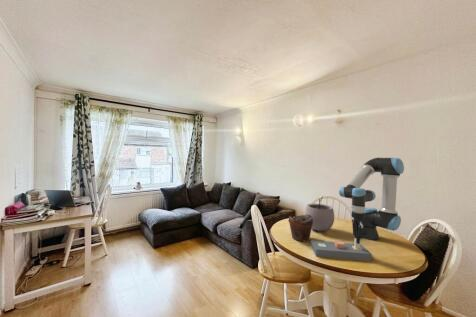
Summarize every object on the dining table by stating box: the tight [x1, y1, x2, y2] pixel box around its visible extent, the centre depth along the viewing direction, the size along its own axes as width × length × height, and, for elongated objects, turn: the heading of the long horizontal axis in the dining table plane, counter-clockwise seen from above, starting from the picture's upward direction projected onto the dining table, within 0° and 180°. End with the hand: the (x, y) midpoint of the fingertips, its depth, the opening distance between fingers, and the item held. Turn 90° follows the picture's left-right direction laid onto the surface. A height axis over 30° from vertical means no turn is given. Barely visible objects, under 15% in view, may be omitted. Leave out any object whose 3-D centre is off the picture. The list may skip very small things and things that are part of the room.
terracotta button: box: [333, 240, 345, 249], centre depth 134 cm, size 5×5×4 cm
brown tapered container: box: [287, 214, 313, 242], centre depth 158 cm, size 18×20×18 cm
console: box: [310, 240, 373, 262], centre depth 134 cm, size 33×14×4 cm, turn 82°
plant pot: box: [304, 196, 335, 232], centre depth 178 cm, size 24×24×30 cm
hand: (357, 247), depth 133 cm, fingers closed
